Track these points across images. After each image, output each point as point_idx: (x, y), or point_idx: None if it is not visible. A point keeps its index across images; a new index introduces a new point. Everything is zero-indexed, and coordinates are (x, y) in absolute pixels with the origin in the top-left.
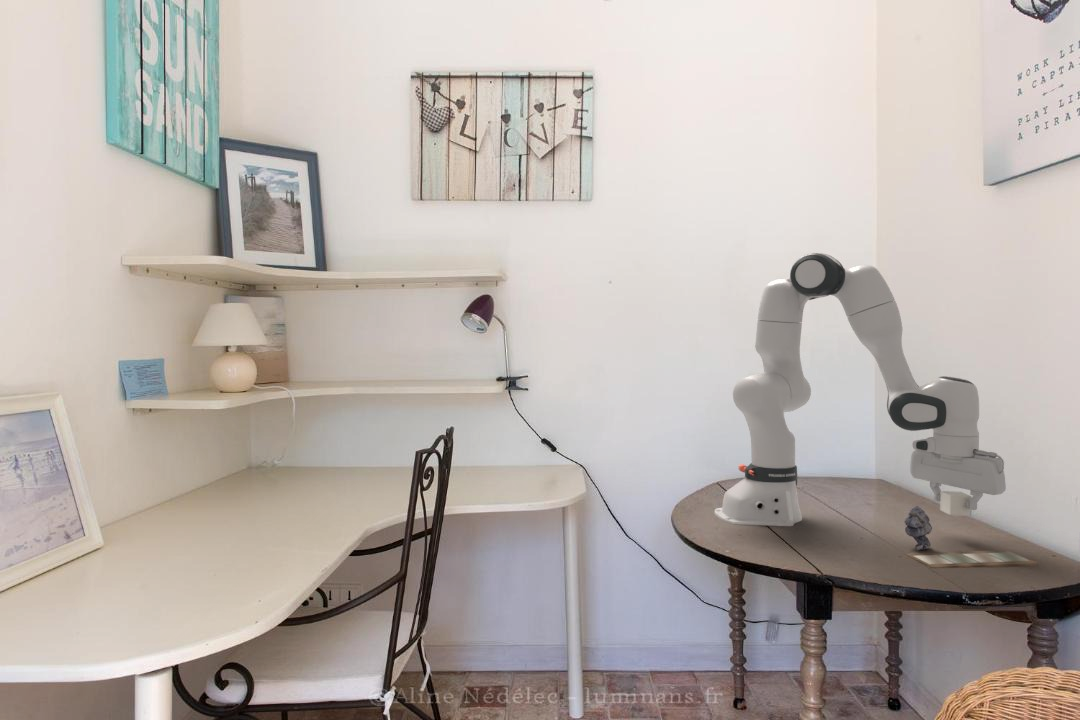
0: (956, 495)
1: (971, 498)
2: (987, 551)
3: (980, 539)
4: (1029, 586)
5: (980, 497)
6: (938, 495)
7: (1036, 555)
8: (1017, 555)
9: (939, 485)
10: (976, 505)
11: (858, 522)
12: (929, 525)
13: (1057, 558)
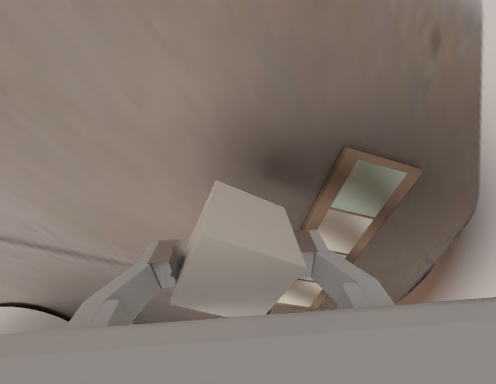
0: (260, 303)
1: (330, 295)
2: (326, 195)
3: (246, 96)
4: (425, 260)
5: (360, 274)
6: (169, 285)
7: (399, 91)
8: (378, 162)
9: (123, 314)
10: (321, 241)
11: (59, 245)
12: (269, 312)
13: (447, 60)
